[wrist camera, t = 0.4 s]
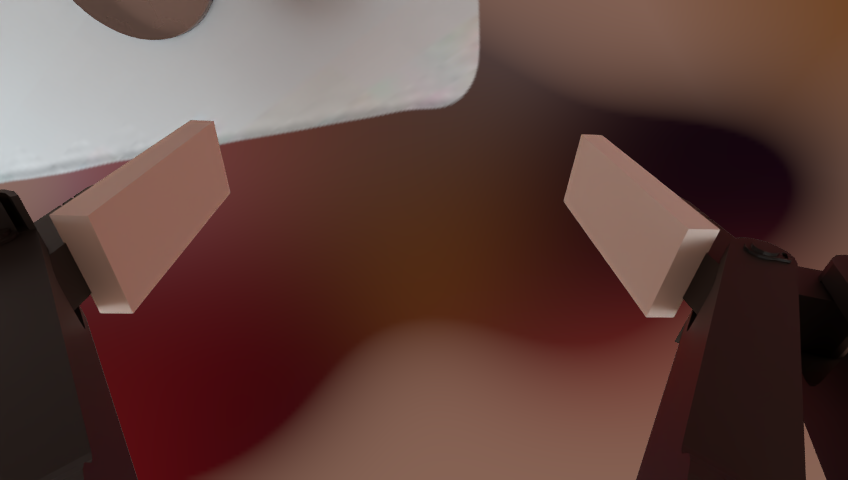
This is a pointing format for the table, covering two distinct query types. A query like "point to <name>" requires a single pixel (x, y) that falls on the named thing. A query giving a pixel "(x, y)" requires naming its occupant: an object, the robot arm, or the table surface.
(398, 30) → the table surface
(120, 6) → the flange disc
